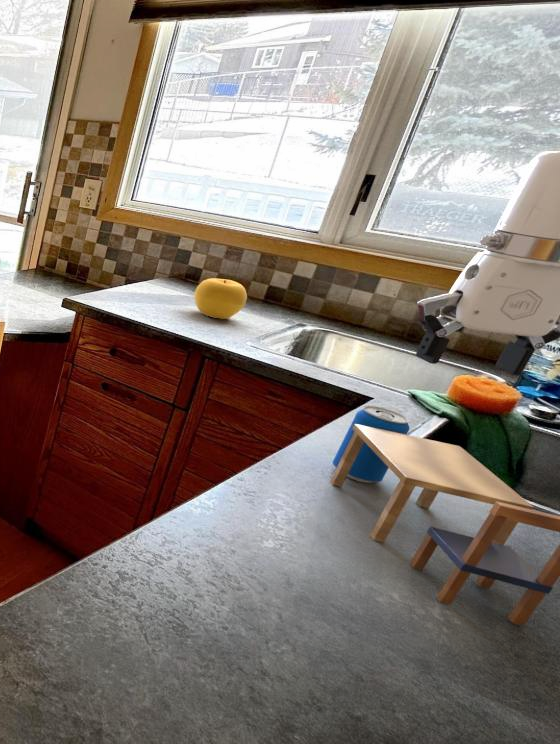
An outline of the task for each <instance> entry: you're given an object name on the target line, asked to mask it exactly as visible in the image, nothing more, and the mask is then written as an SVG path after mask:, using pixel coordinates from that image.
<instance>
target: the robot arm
mask: <svg viewBox="0 0 560 744" xmlns="http://www.w3.org/2000/svg"><path fill="white" fill-rule="evenodd" d="M503 211H504V212H502V215H501V217H500V218H499V220H498V223H497V224H496V226H495V229H494V230H493V232H492V234H491V235H484V236H482V237H481V238H480V241H479V243H480V245H481V246H485V248H484V250H483V252H481V251H478V252H477V253H476V254H475V255H474V256H473V258H472V259H471V260H470V261H469V263H468V264H467V265H466V266H465V267H464V269H463V270H462V271H461V273H460V274H459V276H458V277H457V278H456V280H455V281H454V283H453V285H452V286H451V288H450V289H449V291H448V293H443V294H440V295H436V296H433V297H428V298H424V299H420V300H418V301H417V304H416V305H417V312H418V313H417V314H418V316H417V319H418V320H419V322H420V323H421V325H422V330H424V331H425V334H424V336H423V337H422V339H421V340H420V342H419V345H418V347H417V351H416V353H415V356H416V357H417V358H419V359H420V360H423V361H425V362H427V363H428V364H434V365H436V364H438V363H439V362H440V360H441V358H442V356H443V354H444V352H445V351H446V348H448V347H447V346H448V345H449V343H450V338H449V337H447V336H448V335H451V334H453V333H454V332H456V331H458V330H460V329H461V328H466V329H470V330H473V331H482V332H488V333H498V334H505V335H512V336H513V337H514V339H515V341H513V340H509V341H508V343H506V344H505V347H504V348H503V351H502V352H501V353H500V356H499V357H498V359H497V361H496V362H495V367H496V368H497V369H500V370H502V371H504V372H506V373H508V374H510V375H513V376H520V375H522V373H523V371H524V369H525V368H526V366H527V365H528V363H529V361H530V359H531V357H532V356H533V354H534V352H535V351H538V350H542V349H544V348H545V346H546V344H549V343H551V342H554V341H556V340H559V338H560V150H551V151H544V152H541V153H539V154H537V155H536V156H535V157H533V158H532V159H531V160H530V162H529V164H528V165H527V166H526V169H525V171H524V173H523V175H522V177H521V178H520V180H519V182H518V184H517V186H516V188H515V190H514V192H513V194H512V196H511V198H510V200H509V201H508V203H507V205H506V208H505V210H503ZM438 309H440V310H439V316H436V311H437V310H438Z"/></svg>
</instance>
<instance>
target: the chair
mask: <svg viewBox="0 0 560 744" xmlns="http://www.w3.org/2000/svg"><path fill="white" fill-rule="evenodd" d="M506 519H507V520H511V521H515V522H518V523H520V524H524V525H527V526H531V527H532V526H533V527H536V528H541V529H545V530H549V531H553V532H557V533H560V515H556V514H553V513H547V512H543V511H539V510H536V509H532V510H531V509H527V508H523V507H519V506H514V505H510V504H506V503H502V502H497V501H496V502H495V504H494V505H493V504H492V507H491V509H490V510H489V514H488V515H487V517H486V518H485V520H484V522H483V523H482V525H481V527H480V528H479V530H478V531H477V533H476V535H475V536H474V537H473V536H471V535H466V534H462V533H457V532H454V531H450V530H446V529H442V528H438V527H434V526H429V527H428V529H427V530H426V533H427V534H426V535H425V537H424V539H423V540H422V542H421V544H420V545H419V547H418V549H417V550H416V552H415V554H414V555H413V557H412V559H411V560H410V562H409V565H410V566H411V567H412V568H413V569H416V570H419V571H423V570H424V569H425V567H426V565H427V564H428V562H429V560H430V558H431V557H432V555H433V554H434V552H435V551H436V549H437V547H439V548H440V550H442V551H443V553H444V554H445V555H446V556H447V557H448V558H449V559H450V561H452V563H453V564H454V565H455V567H454V568H453V570H452V572H451V573H450V575H449V576H448V578H447V580H446V582H445V583H444V584H443V586H442V587H441V589H440V591H439V592H438V593H437V596H436V598H437V600H438V601H439V603H441V604H445V605H448V606H451V605H452V603H453V602H454V600H455V599H456V597H457V595H458V594H459V592H460V590H461V589H462V588H463V586H464V585H465V583H466V581H467V580H468V578H469V577H470V575H471V574H473V575H477V578H476V579H475V583H476V584H477V585H478V586H479V587H480V588H484V589H488V590H490V588H491V587H492V585H493V584H494V582H495V581H499V582H502V583H506V584H510V585H514V586H517V587H521V588H525V589H526V591H524V594H523V595H522V596H521V598H520V599H519V601H518V602H517V603H516V604H515V606H514V608H513V610H511V612H510V614H509V615H508V616H507V619H508V620H509V621H510V622H511V623H512V624H514V625H518V626H521V627H524V626H525V624H526V623H527V622H528V621H529V620H530V618H531V616H532V615H533V613H534V612H535V610H536V609H537V608H538V606H539V605H540V604H541V602H542V601H543V599H544V598H545V596H546V595H548V594H550V593H551V592H552V590H553V588H554V585H555V584H556V583H557V581H558V580H559V578H560V544H558V546H557V547H556V549H555V550H554V552H553V553H552V555H551V556H550V558H549V559H548V560H547V562H546V563H545V565H544V566H543V567H542V569H541V571H540V572H539V573H538V572H537V571H536V570H535V569H534V568H533V567H532V566H531V565H530V564H529V563H528V562H526V560H524V559H523V557H521V556H520V555H519V554H518V553H517V552H516V551H515V550H514V549H513V548H512V547H511V546H510V545H506V544H504V545H501V544H498V543H494V542H492V541H493V539H494V538H495V536H496V535H497V533H498V531H499V530H500V528H501V527H502V525H503V524H504V522H505V521H506Z"/></svg>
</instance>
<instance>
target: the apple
mask: <svg viewBox="0 0 560 744" xmlns="http://www.w3.org/2000/svg"><path fill="white" fill-rule="evenodd" d="M247 299H248V294H247V290H246V288H245V286H243V285H242V284H241V283H239V282H237V281H234V280H231V279H224V278H216V277H215V278H214V277H212V278H207V279H204V280H202V281H201V282H200V283H199V284H198V285H197V287H196V288H195V291H194V302H195V305H196V308H197V310H198V311H199V312H200V313H201V314H203V315H204V316H206V315H207V316H206V317H208V316H211V317H214V318H220V319H219V320H228V319H230V318H232V317H233V316H235V315H236V314H237V313H239V312H240V311H241V310H242V309H243V308H244V306H245V305H246V302H247ZM214 318H213V319H214Z"/></svg>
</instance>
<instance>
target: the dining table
mask: <svg viewBox="0 0 560 744" xmlns="http://www.w3.org/2000/svg"><path fill="white" fill-rule="evenodd" d="M352 429H353V430H354V431H355V432H354V434H353V436H352V438H351V440H350V442H349V444H348V446H347V448H346V450H345V452H344V454H343V456H342V458H341V460H340V462H339V464H338V466H337V468H336V467H335V470H334V472H333V474H332V476H331V478H330V480H329V483H330V484H331V485H332V486H335V487H340V488H341V487H343V484H344V482H345V481H346V479H347V477H346V476H347V475H348V473H349V471H350V469H351V467H352V465H353V463H354V461H355V459H356V457H357V455H358V453H359V451H360V449H361V447H362V445H363V443H364V442H365V443H366V444H367V445H368V446H369V447H370V448H371V449H372V450H373V451H374V452H375V453H376V455H377V456H378V457H379V458H380V459H381V460H382V461H383V462H384V463H385V464H386V465H387V466H388V467H389V468H388V469H389V470H390V471H391V472H392V473H393V474H394V476H396V477H397V479H399V481H398V483H397V485H396V487H395V489H394V490H393V491H392V494H391V496H390V498H389V500H388V501H387V504H386V505H385V507H384V509H383V511H382V513H381V514H380V516H379V518H378V519H377V522H376V523H375V525H374V527H373V528H372V530H371V532H370V534H369V536H370V537H371V539H372V540H373V541H376V542H380V543H385V541H386V539H387V538H388V536H389V534H390V532H391V531H392V529H393V527H394V526H395V523H396V522H397V520H398V518H399V517H400V514H401V513H402V511H403V509H404V508H405V506H406V504H407V503H408V501H409V499H410V497H411V496H412V493H413V491H414V490H415V488H416V487H417V488H422V490H421V492H420V493H419V495H418V497H417V499H416V501H415V503H416V504H417V506H418V507H421V508H425V509H430V507H431V506H432V504H433V502H434V500H435V499H436V497H437V495H438V493H444V494H446V495H447V494H448V495H451V496H455V497H460V498H463V499H469V500H472V501H477V502H480V503H481V502H482V503H485V504H489V505H492V506H493V505H494V504H495V502H496V501H497V502H502V503H506V504H510V505H514V506H519V507H523V508H527V509H531V510H534V506H533V505H532V504H531V503H530V502H529V501H527V500H526V499H525V498H523V497H522V496H521V495H520V494H519V493H517V491H515V490H514V489H513V488H511V487H510V486H509V485H508V484H506V482H504V481H503V480H501V478H500V477H498V476H497V475H495V474H494V473H493V472H492V471H491V470H490V469H488V468H487V467H486V466H484V465H483V464H482V463H481V462H480V461H478V460H477V459H476V458H475V457H474V456H473V455H471V454H470V453H469V452H468V451H467V450H466V449H464V448H463V447H461V446H460V445H456V444H451V443H447V442H441V441H437V440H432V439H429V438H428V439H427V438H423V437H419V436H413V435H410V434H407V435H405V434H400V433H396V432H391V431H386V430H382V429H377V428H372V427H368V426H363V425H358V424H354V426H353V428H352ZM518 523H519V522H515V521H511V520H507V519H506V521H505V522H504V524H503V525H502V527H501V528H500V530H499V531H498V533H497V535H496V536H495V538H494V539H493V541H492V542H494V543H498V544H501V545H505V544H506V542H507V540H508V539H509V537H510V536H511V534H512V533H513V531H514V529H515V528H516V526H517V525H518Z"/></svg>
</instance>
